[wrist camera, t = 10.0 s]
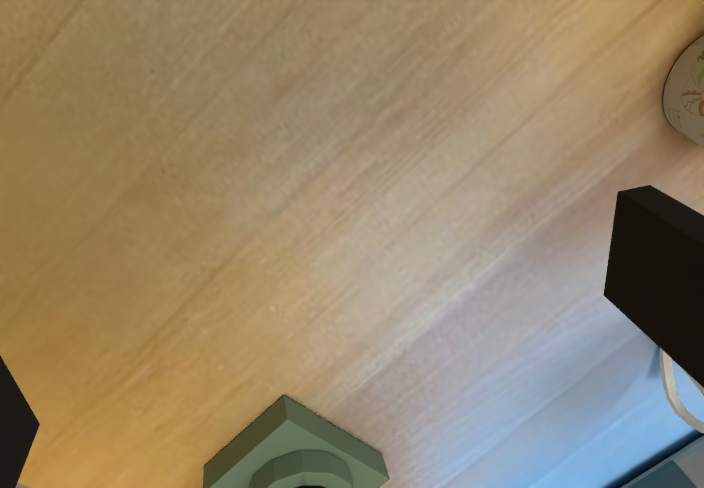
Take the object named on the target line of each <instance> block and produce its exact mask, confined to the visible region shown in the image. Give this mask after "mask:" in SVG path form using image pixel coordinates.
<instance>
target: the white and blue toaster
mask: <svg viewBox="0 0 704 488" xmlns="http://www.w3.org/2000/svg"><path fill="white" fill-rule="evenodd" d="M621 488H704V435H703V436H702V437H700V438H698V439H697V440H695V441H694V442H692V443H690V444H689V445H687V446H686V447H684V448H683V449H681V450H679V451H678V452H676V453H675V454H673V455H671V456H670V457H668V458H667V459H665V460H663V461H662V462H660V463H659V464H657V465H656V466H654V467H652V468H651V469H649V470H648V471H646V472H644V473H643V474H641V475H640V476H638V477H636V478H635V479H633V480H632V481H630V482H628V483H627V484H625V485H624V486H622V487H621Z"/></svg>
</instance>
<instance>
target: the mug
mask: <svg viewBox="0 0 704 488" xmlns="http://www.w3.org/2000/svg"><path fill="white" fill-rule="evenodd" d="M663 106H664V111H665V115H666V117H667V119H668V121H669V123H670V124H671V125H672V126H673V127H674V128H675V129H676V130H677V131H679V132H680V133H682V134H683V135H685V136H686V137H688V138H689V139H691V140H692V141H694V142H696V143H697V144H699V145H700V146H702V147H703V148H704V35H703V36H702V37H700V38H699V39H697V40H696V41H695V42H693V43H692V44H691V45H690V46H689V47H688V48H687V49H686V50H685V51H684V52H683V53H682V55H681V56H680V57H679V58H678V60H677V61H676V63H675V64H674V66H673V68H672V70H671V72H670V74H669V76H668V79H667V82H666V85H665V89H664V96H663Z"/></svg>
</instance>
